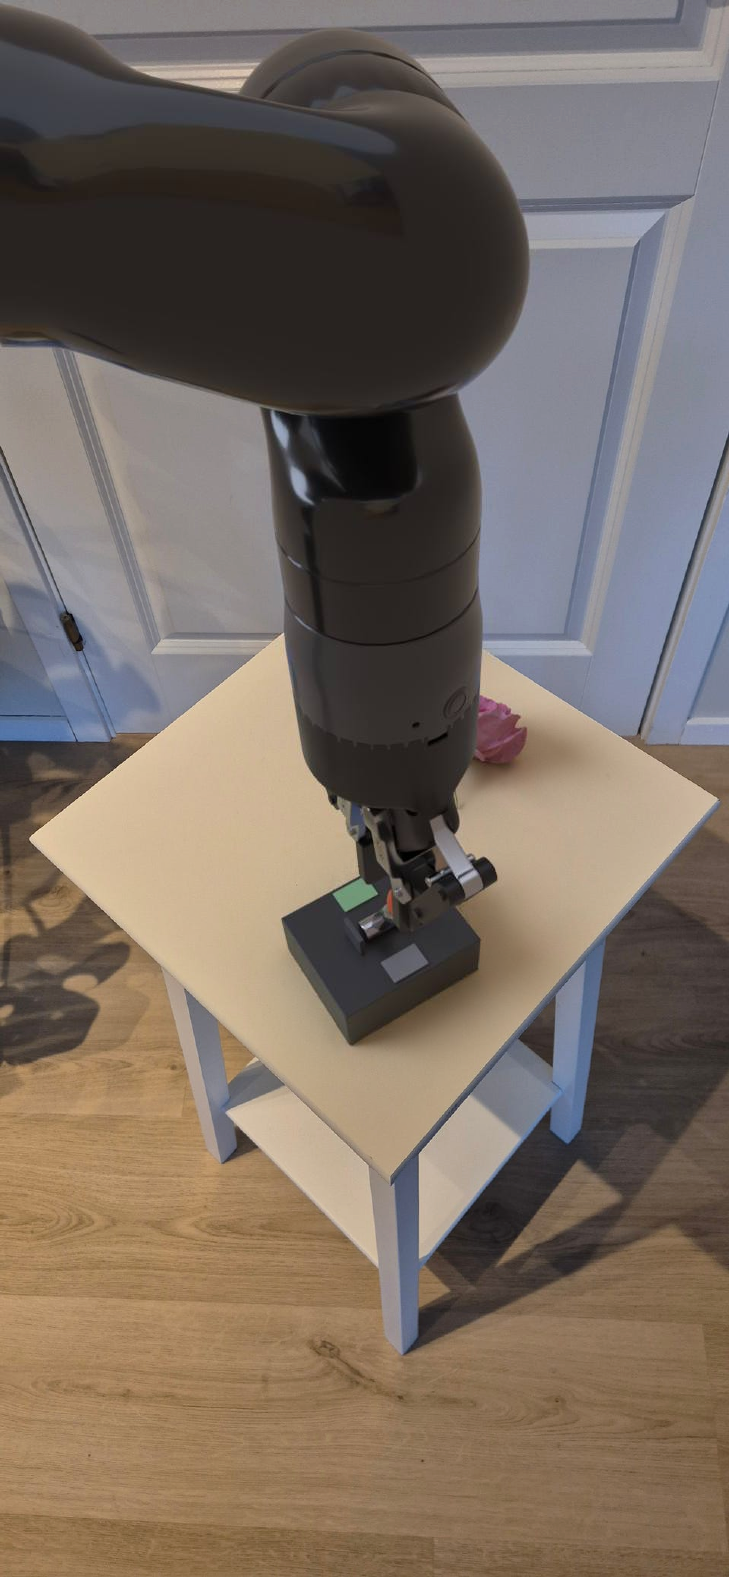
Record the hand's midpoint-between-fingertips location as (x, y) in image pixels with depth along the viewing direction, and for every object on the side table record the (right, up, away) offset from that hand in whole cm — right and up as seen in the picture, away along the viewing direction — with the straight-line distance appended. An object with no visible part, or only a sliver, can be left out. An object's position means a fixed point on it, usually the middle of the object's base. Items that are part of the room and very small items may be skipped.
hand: (397, 895), depth 53 cm
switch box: (0, -8, +28) cm, 29 cm away
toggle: (-1, -5, +24) cm, 25 cm away
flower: (+7, +8, +41) cm, 42 cm away
